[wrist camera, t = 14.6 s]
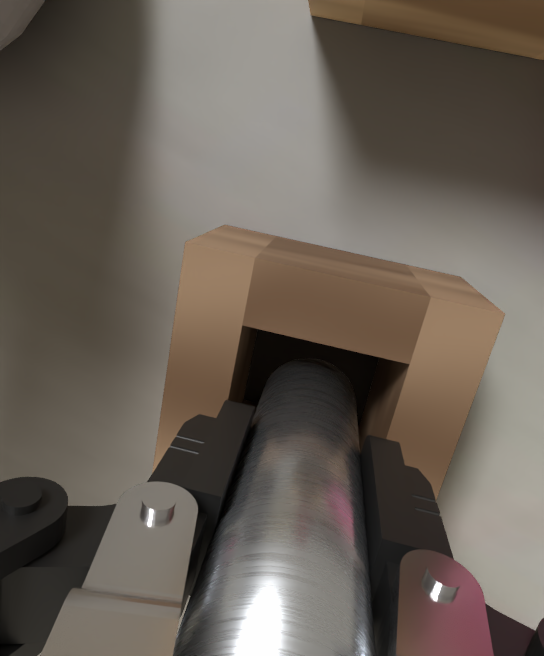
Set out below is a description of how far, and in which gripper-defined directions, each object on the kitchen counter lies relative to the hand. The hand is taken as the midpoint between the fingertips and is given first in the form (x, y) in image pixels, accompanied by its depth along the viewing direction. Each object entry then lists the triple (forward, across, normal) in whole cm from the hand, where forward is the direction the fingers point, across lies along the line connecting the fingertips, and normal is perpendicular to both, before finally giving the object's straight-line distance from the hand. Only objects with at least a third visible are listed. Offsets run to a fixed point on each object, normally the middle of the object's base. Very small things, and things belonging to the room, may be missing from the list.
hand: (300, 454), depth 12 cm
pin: (+3, 0, 0) cm, 3 cm away
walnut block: (+6, 0, 0) cm, 6 cm away
